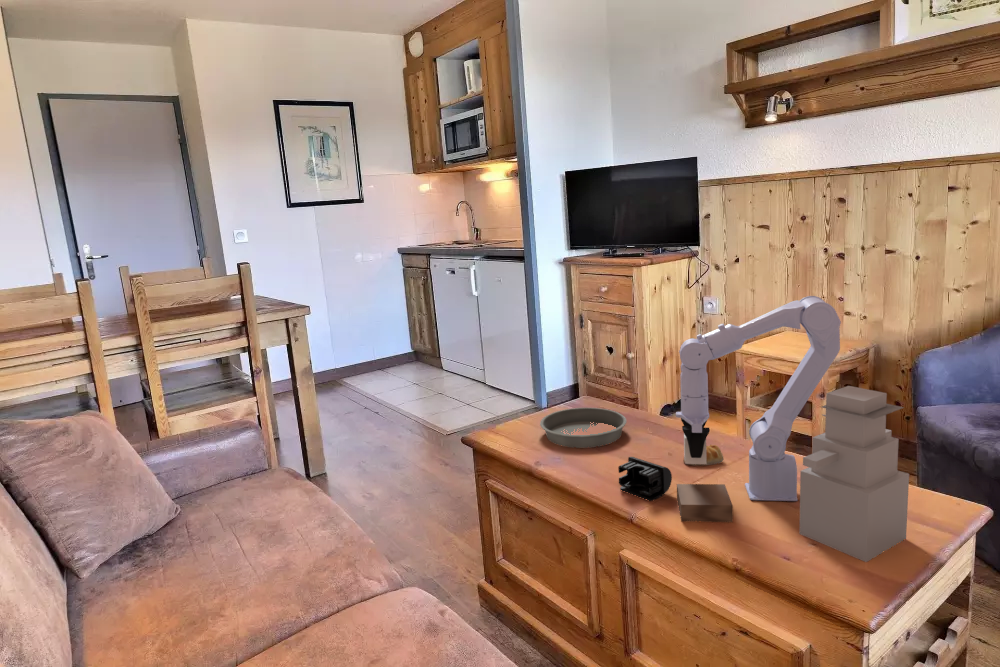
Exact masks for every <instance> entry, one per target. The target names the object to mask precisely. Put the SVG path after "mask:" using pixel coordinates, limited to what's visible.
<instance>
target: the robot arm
mask: <svg viewBox="0 0 1000 667" xmlns="http://www.w3.org/2000/svg"><path fill="white" fill-rule="evenodd" d="M841 324H842V322H841V319H840V317H839V314H838V313H837V311H836V309H835V308H834V306H832V305H831V304H830V303H828V302H826V301H824V299H822V298H821V297H819V296H816V295H807V296H805V297H802V298H801V299H800V300H799V299H797V300H793V301H790V302H788V303H786V304H783V305H780V306H778V307H777V308H775V309H773V310H770V311H768V312H767V313H764V314H762V315H760V316H758V317H755V318H753V319H751V320H749V321H747V322H745V323H743V324H740V325H734V324H731V323H728V324H726V325H725V323H720V324H718V325H717V328H716V329H714V330H711V331H710V332H707V333H704V334H702V333H699V334H697V335H696V338H688V339H686V340H685V341H684V342H682V344H681V345H680V349H679V350H678V353H679V359H680V362H681V364H680V371H681V372H680V375H679V376H680V411H676V412H675V418H678V419H679V418H680V421H681V423H682V426H681V427H682V432H683V435H684V434H685V436H686V438H687V441H688V445H689V450H690V455H691V458H701V456H702V453H703V447H704V443H705V440H706V441H707V438H708V436H709V434H710V431H711V429H710V427H706V426H705V425H706V424H707V422H708V419H709V418H710V413H709V379H708V378H709V377H708V376H709V375H708V372H707V364H708V363H709V361H711V360H712V361H713V360H714V361H715V360H717V359H719V358H721V357H724V356H726V355H728V354H731V353H733V352H736V351H738V350H740V349H742V348H743V345H744V343H745V342H746V341H747V340H749V339H752V338H756V337H758V336H761V335H764V334H766V333H769V332H771V331H774V330H777V329H780V328H783V327H784V328H785V327H786V328H789V329H796V330H801V326H802V327H803V329H804V330H805V332H806V333H805V334H806V335H807V338H808V341H809V343H810V344H809V345H810V347H809V348H808V350H807V352H806V353H805V355H804V356H803V358H802V359H801V361H800V362H799V364H798V366H797V368H795V370H794V372H793V373H792V375H791V376H790V378H789V379H788V381H787V383H786V385H785V386H784V387H783V389H782V391H781V392H780V393H779V395H778V397H777V398H776V399H775V402H774V403H773V405H772V406H771V408H769V409H767V410H766V411H765V412H764V413H763V415H762V416H761V417H760V418H759V419H757V420H755V421H754V422H753V423H751V425H750V427H749V430H748V435H749V438H750V440H751V441H752V446H751V448H750V449H749V450H748V482H745V483H744V487H745V490H746V492H747V494H748V498H749V499H750V501H775V502H776V501H778V502H779V501H780V502H782V501H783V502H786V501H787V502H798V491H797V490H798V486H797V485H798V465H797V459H796V457H795V455H794V454H788V453H785V451H786V448H787V447H786V446H787V441H788V439H789V438H790V436H791V433H792V428H793V423H794V422H795V421H796V418H797V417H798V416H799V414H800V412H801V411H802V410H803V408H804V406H806V403H807V402H808V400H809V399H810V397H811V396H812V394H813V393H814V391H815V389H816V388H817V386H818V385H819V384H820V382H821V380H822V379H823V377H824V376H825V375H826V373H827V371H828V370H829V368H830V366H831V365H832V364H833V362H834V360H835V359H836V358H837V356H838V355H839V353H840V350H841V337H840V335H841V334H840V331H841V330H840V328H841Z"/></svg>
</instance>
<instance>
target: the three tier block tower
mask: <svg viewBox="0 0 1000 667" xmlns="http://www.w3.org/2000/svg"><path fill="white" fill-rule="evenodd" d="M887 396H888V394H887V392H882V391H878V390H872V389H868V388H862V387H857V386H852V385H847V386H844V387H841V388H838V389H835V390H832V391H829V392H827V393H826V398H825V399H826V400H825V405H822V406H821V408H822V409H825V414H821V415H822V416H823V417H825V428H824V429H825V430H824V432H823V433H821V434H818V435H815V436H812V441H811V443H812V445H811V446H812V447H811V454H808V455H806V456H803V457H802V466H804V467H805V468H804V469H802V470H800V471H799V472H800V474H799V476H800V477H799V478H800V479H799V480H800V482H799V531H798V532H799V533H798V534H799V535H801V536H802V537H806V538H808V539H811V540H813V541H815V542H818V543H820V544H822V545H825V546H827V547H829V548H832V549H833V550H834V549H835V550H837V551H839V552H841V553H844V554H845V555H849V556H850V557H853V558H855V559H858V560H860V561H862V562H864V563H868V562H869V561H871V560H873V559H874V558H876V557H878V556H879V554H880V555H881V554H883V553H884V552H883V551H885V550H886V551H888V550H890V549H891V547H892V546H893V547H895V546H897V545H898V544H897V543H899V542H900V543H902V542H904V541H905V540H904V539H906V540H907V527H908V525H907V524H908V506H909V487H910V486H909V485H910V484H909V483H910V473H908V472H905V471H900V470H898V463H899V462H898V461H899V460H898V459H899V440H900V439H899V438H896V437H893V436H892V430H891V429H887V428H886V427H887V415H888V414H892V413H893V412H894V413H895V412H896V411H899V410H901V409H904V408H905V407H903V406H899V405H894V404H890V403H887ZM806 467H807V468H806ZM903 540H904V541H903ZM901 541H902V542H901ZM900 543H899V544H900ZM896 544H897V545H896ZM894 545H895V546H894ZM893 547H892V548H893ZM889 548H890V549H889ZM887 549H888V550H887ZM886 551H885V552H886ZM882 552H883V553H882ZM877 555H878V556H877ZM872 558H873V559H872Z"/></svg>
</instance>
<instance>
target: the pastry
mask: <svg viewBox="0 0 1000 667" xmlns="http://www.w3.org/2000/svg"><path fill="white" fill-rule="evenodd" d="M683 462H684V463H685V459H684V458H683ZM706 462H707V464H689V465H690V466H703V467H704V466H711V465H718V464H722V463H723V462H724V455H723V452H722V451H721V448H720V447H719V446H718V445H716V444H709V445H706ZM721 462H722V463H721ZM717 463H718V464H717Z"/></svg>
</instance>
